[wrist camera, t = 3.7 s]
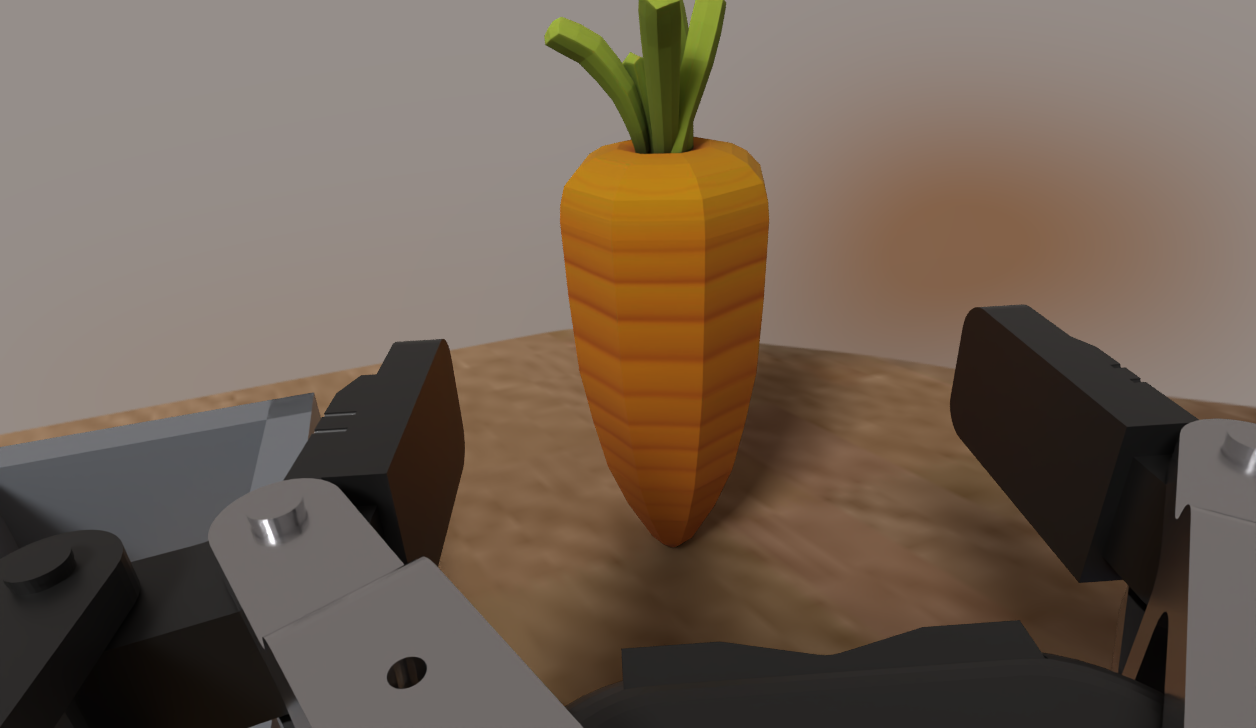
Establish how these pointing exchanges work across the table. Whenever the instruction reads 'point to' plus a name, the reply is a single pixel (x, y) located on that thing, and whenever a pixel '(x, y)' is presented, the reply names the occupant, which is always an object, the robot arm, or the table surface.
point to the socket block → (150, 476)
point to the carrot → (664, 270)
